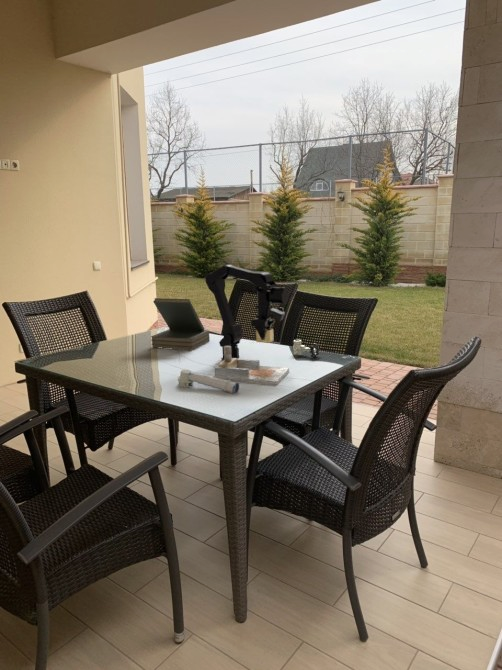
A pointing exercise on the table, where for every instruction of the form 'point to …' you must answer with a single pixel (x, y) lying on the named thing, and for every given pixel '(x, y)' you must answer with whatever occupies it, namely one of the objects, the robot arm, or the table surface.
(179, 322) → the hinged lid box
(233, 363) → the ram
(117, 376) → the table surface
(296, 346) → the valve
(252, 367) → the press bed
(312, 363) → the table surface
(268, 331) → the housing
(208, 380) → the beige flashlight
